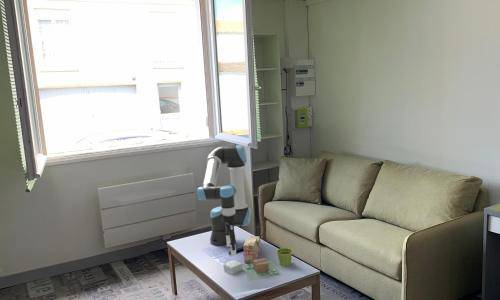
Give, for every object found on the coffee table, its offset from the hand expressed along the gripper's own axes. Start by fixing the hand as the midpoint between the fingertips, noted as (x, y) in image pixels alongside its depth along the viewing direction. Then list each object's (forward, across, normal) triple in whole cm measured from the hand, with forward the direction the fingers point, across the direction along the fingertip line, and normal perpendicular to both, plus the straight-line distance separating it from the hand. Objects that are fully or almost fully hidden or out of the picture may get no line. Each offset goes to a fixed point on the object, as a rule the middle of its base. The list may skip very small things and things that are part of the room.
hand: (231, 250), depth 235 cm
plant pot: (+13, +3, +30) cm, 33 cm away
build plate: (+13, +6, +15) cm, 21 cm away
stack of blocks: (+13, -16, +15) cm, 25 cm away
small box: (+13, 0, 0) cm, 13 cm away
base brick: (+12, +6, +15) cm, 20 cm away
